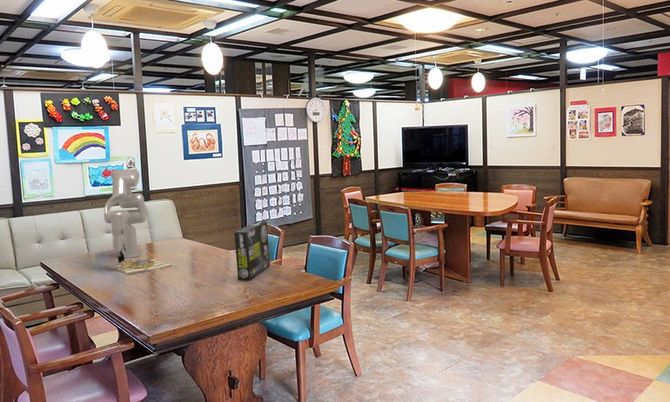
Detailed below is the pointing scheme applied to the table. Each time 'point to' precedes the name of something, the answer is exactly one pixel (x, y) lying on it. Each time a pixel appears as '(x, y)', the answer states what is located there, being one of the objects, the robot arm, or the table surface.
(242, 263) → the box
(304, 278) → the table surface
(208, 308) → the table surface
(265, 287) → the table surface
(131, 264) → the ring nut
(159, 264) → the base
